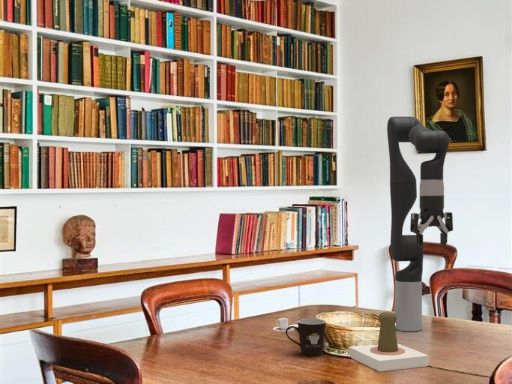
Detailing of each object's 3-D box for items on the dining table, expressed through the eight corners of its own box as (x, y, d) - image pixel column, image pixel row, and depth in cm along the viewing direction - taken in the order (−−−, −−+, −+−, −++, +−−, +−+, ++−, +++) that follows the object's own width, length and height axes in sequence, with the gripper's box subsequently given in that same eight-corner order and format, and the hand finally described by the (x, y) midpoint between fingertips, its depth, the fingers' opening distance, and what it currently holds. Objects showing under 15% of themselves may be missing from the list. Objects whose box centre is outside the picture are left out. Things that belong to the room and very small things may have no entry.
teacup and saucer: (301, 329, 260) (301, 318, 260) (290, 333, 253) (290, 321, 253) (279, 326, 265) (279, 315, 265) (268, 330, 258) (268, 319, 258)
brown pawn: (398, 352, 210) (398, 314, 210) (377, 352, 211) (376, 314, 211) (398, 347, 216) (398, 310, 216) (377, 347, 217) (377, 310, 217)
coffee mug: (328, 351, 225) (328, 319, 225) (322, 358, 217) (322, 325, 217) (292, 349, 229) (292, 317, 229) (284, 355, 221) (284, 322, 221)
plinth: (348, 356, 219) (348, 345, 219) (394, 351, 225) (394, 341, 225) (379, 371, 202) (379, 359, 202) (428, 366, 208) (428, 354, 208)
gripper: (443, 193, 235) (443, 243, 236) (405, 194, 230) (405, 245, 231) (458, 194, 228) (458, 246, 229) (419, 194, 223) (419, 247, 224)
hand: (431, 245), depth 230 cm, fingers open, 8 cm apart
